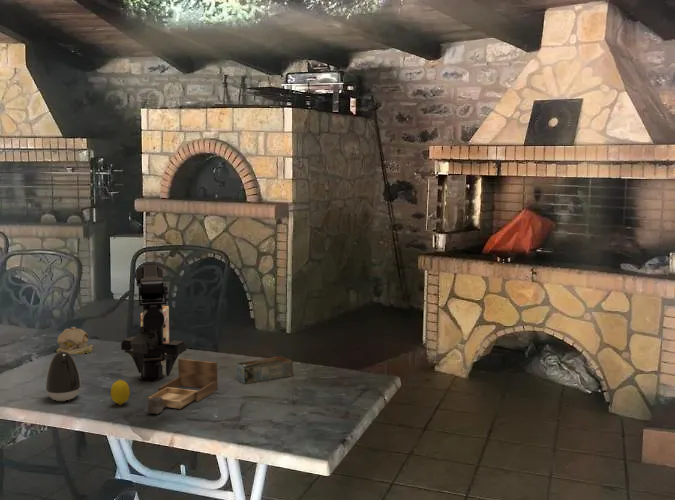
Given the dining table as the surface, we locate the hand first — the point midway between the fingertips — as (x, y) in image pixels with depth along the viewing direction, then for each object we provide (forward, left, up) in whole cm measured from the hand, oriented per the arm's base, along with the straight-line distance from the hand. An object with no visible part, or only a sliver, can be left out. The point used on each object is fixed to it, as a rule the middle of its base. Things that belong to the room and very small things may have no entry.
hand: (154, 374), depth 198 cm
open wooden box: (0, +19, -12) cm, 22 cm away
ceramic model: (-68, +49, -12) cm, 85 cm away
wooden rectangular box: (+17, +43, -12) cm, 47 cm away
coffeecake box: (-31, +49, -12) cm, 59 cm away
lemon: (-14, +3, -12) cm, 19 cm away
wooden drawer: (0, +7, -12) cm, 13 cm away
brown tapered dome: (-34, +2, -12) cm, 36 cm away
